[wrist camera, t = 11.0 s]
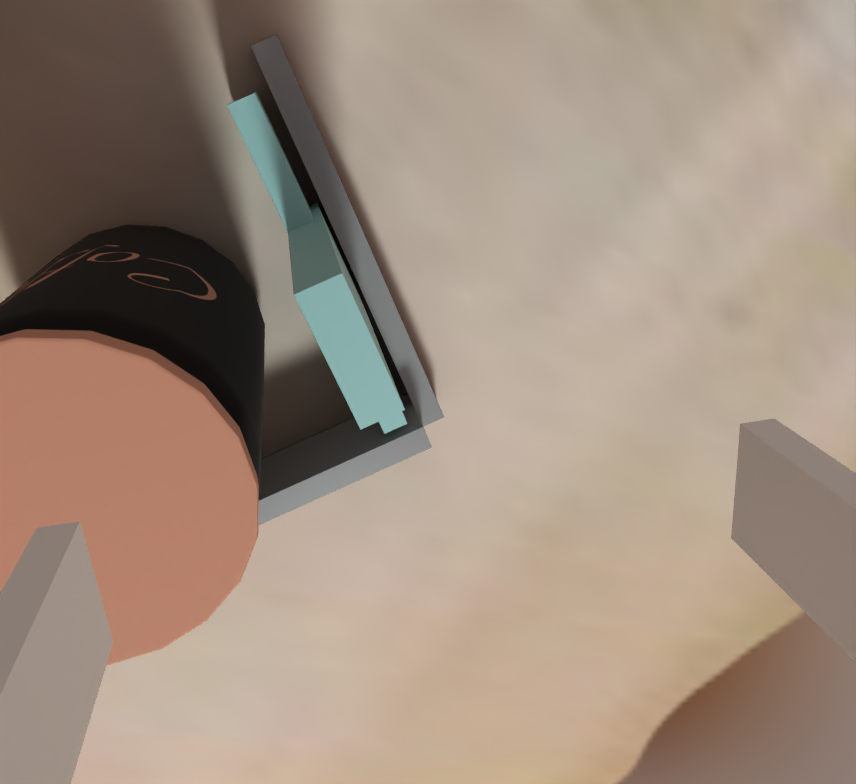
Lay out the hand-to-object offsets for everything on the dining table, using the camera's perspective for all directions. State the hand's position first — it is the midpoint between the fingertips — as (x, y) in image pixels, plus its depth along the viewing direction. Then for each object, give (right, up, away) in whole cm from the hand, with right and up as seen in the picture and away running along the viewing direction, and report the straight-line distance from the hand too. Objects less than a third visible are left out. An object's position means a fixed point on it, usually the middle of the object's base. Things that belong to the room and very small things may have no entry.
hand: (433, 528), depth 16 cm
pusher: (-5, +9, +23) cm, 25 cm away
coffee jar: (-14, +6, +23) cm, 27 cm away
